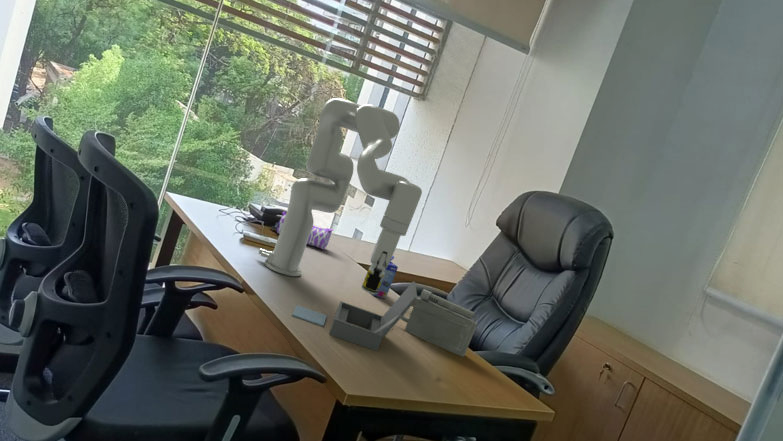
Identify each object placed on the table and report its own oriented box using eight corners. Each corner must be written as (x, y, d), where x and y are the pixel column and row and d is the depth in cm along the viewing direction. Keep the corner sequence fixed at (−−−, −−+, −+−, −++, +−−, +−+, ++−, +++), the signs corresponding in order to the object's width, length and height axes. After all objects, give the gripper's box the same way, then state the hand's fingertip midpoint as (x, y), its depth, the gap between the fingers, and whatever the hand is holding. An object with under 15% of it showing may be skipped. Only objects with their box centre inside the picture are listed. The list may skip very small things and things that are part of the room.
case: (328, 335, 178) (350, 274, 175) (335, 315, 196) (355, 260, 193) (394, 358, 179) (417, 298, 176) (395, 336, 197) (415, 281, 194)
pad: (291, 315, 182) (292, 314, 182) (296, 306, 191) (297, 305, 191) (323, 326, 183) (323, 325, 183) (326, 316, 192) (327, 315, 191)
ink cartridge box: (386, 299, 233) (401, 260, 231) (373, 296, 230) (387, 257, 228) (375, 288, 241) (389, 251, 239) (362, 285, 239) (376, 248, 236)
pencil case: (272, 233, 267) (279, 211, 265) (277, 230, 276) (285, 208, 274) (323, 253, 266) (331, 231, 265) (327, 249, 275) (335, 227, 274)
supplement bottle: (361, 285, 188) (371, 258, 187) (376, 290, 189) (387, 263, 187) (361, 290, 183) (372, 262, 182) (377, 296, 184) (388, 268, 183)
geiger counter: (482, 313, 202) (408, 280, 209) (478, 316, 196) (402, 282, 203) (466, 354, 204) (393, 320, 211) (461, 359, 198) (386, 324, 205)
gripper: (382, 215, 191) (360, 273, 194) (380, 226, 174) (356, 289, 177) (407, 225, 191) (384, 282, 194) (407, 236, 175) (382, 299, 178)
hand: (371, 285), depth 186 cm, fingers closed on supplement bottle, 4 cm apart
